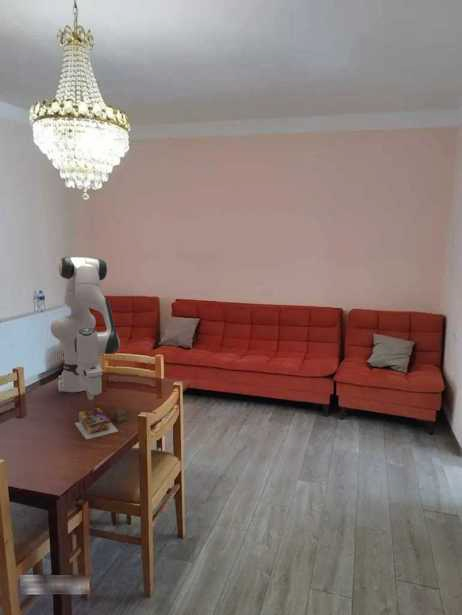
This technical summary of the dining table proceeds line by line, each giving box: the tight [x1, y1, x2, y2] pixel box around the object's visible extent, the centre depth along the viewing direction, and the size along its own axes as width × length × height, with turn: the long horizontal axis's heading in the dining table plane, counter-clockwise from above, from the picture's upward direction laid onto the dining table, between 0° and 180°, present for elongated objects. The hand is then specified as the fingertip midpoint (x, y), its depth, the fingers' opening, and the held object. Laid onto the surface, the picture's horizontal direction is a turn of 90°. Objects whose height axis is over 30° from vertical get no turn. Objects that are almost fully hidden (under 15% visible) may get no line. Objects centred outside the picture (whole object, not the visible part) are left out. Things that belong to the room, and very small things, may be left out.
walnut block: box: [112, 408, 127, 423], centre depth 187 cm, size 4×4×4 cm
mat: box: [74, 421, 119, 440], centre depth 179 cm, size 17×13×1 cm
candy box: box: [78, 407, 111, 434], centre depth 180 cm, size 9×4×15 cm
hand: (90, 398), depth 182 cm, fingers closed
